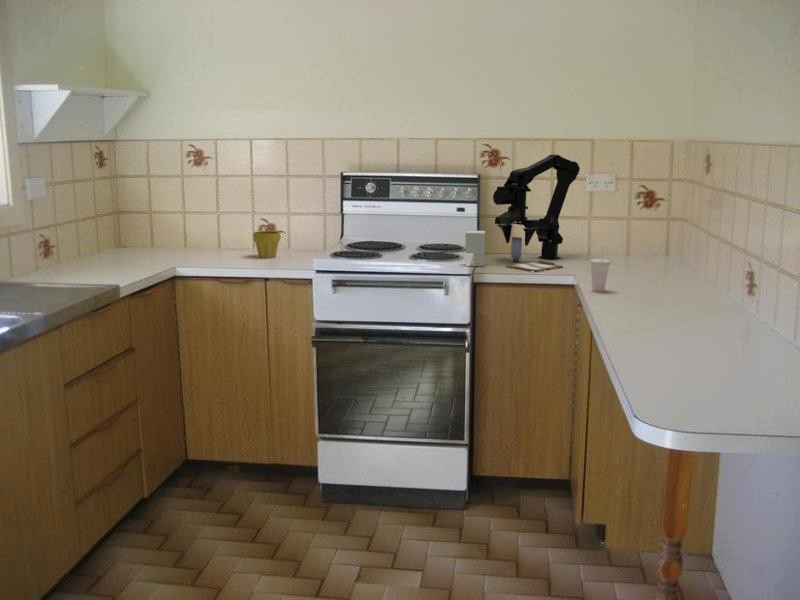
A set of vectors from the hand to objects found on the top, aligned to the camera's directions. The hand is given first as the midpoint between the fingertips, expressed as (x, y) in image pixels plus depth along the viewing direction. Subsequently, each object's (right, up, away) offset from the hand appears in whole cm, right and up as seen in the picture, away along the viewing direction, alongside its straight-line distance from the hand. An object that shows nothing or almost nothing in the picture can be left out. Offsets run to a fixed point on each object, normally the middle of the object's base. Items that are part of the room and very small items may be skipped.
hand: (516, 244), depth 320 cm
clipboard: (+5, -9, -11) cm, 15 cm away
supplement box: (-17, -8, -7) cm, 20 cm away
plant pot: (-97, -5, +6) cm, 97 cm away
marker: (0, -7, +1) cm, 7 cm away
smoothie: (+19, -19, -53) cm, 60 cm away
